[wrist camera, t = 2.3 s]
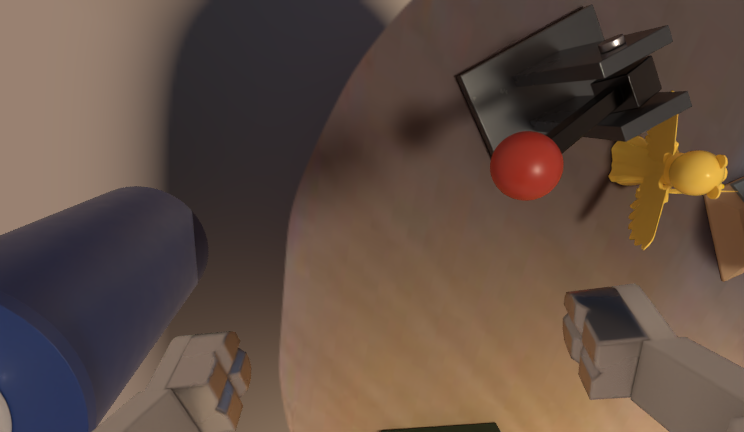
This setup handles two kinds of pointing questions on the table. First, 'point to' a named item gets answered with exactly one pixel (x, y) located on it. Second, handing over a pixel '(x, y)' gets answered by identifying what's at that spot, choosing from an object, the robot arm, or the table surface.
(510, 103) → the switch bracket
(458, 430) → the control block
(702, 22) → the table surface
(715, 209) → the alarm clock
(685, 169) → the figurine
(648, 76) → the switch lever
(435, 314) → the table surface
